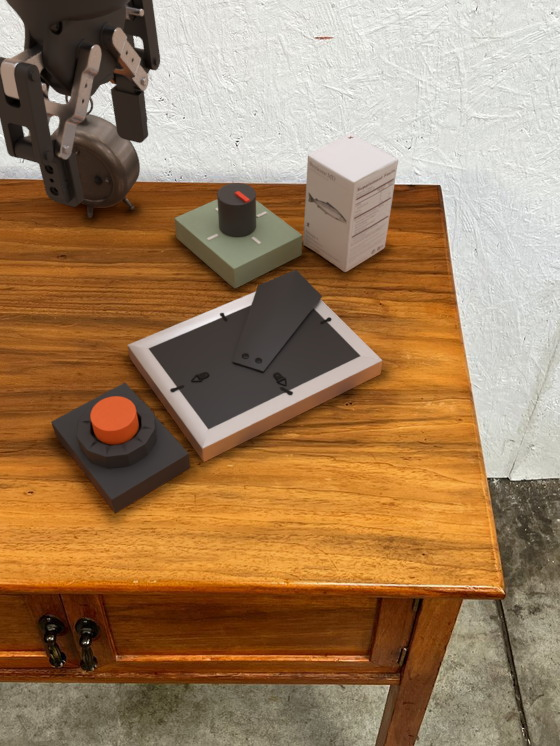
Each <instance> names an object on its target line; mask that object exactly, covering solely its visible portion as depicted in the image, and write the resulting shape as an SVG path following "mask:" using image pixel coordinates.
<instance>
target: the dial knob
mask: <svg viewBox="0 0 560 746" xmlns="http://www.w3.org/2000/svg"><path fill="white" fill-rule="evenodd" d="M216 196H217V199H216V200H218V218H219V229H220V230H221V232H222V233H224V234H225V235H228V236H231V237H243V236H247V235H249V234H251V233H252V232H253V231H254V230H255V229H256V200H257V193H256V190H255V189H254V187H252V186H251V185H249V184H247V183H243V182H231V183H227V184H225V185H223V186H221V187H220V188H219V189H218V191H217V193H216Z"/></svg>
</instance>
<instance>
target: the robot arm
mask: <svg viewBox="0 0 560 746" xmlns="http://www.w3.org/2000/svg"><path fill="white" fill-rule="evenodd" d="M5 1H6V2H7V4H8V5H9V6H10V8H11V9H12V10H13V11H14V12H15V13H16V14H17V16H18V17H19V18H20V20H21V22H22V23H23V28H24V44H23V51H21V52H20V53H17V54H16V55H14V56H12V57H11V58H10V57H3V56H0V125H1V129H2V134H3V138H4V143H5V147H6V151H7V155H8V156H10V157H13V158H17V159H21V160H26V161H29V162H32V163H35V164H38V166H39V170H40V174H41V177H42V178H41V179H42V183H43V186H44V191H45V194H46V196H47V197H48V199H51V200H52V201H54V202H55V203H58V204H61V205H65V206H68V207H72V208H76V207H78V206H79V205H80V204H82V203H81V202H82V201H83V199H84V196H83V191H82V187H81V182H80V177H79V172H78V167H77V162H76V157H75V153H72V148H73V143H74V138H75V133H76V128H77V125H78V124H79V123H81V122H83V121H84V120H85V118H86V114H87V112H88V109H89V103H90V100H89V99H90V97H91V98H92V97H93V96H94V95H95V94H96V92H97V91H98V89H99V88H100V87H101V86H103V85H106V84H108V83H109V82H110V84H113V85H114V86H113V87H111V88H110V94H111V95H110V96H111V102H112V108H113V115H114V121H115V126H116V128H117V133H118V135H119V136H120V137H121V138H123V139H126V140H130V141H131V142H134V143H137V144H141V143H143V142H144V141H145V140H146V139H147V138H148V137H149V128H148V127H149V126H148V113H147V108H146V107H147V105H146V97H145V91H146V90H147V88H148V86H149V81H150V80H149V79H150V78H149V75H148V74H149V72H150V71H158V69H159V68H160V65H161V54H160V47H159V46H160V45H159V40H158V39H159V38H158V32H157V31H158V30H157V24H156V16H155V9H154V2H153V1H154V0H5ZM134 37H137V38H140V39H141V41H142V46H143V48H141V47H136V45H135V39H134ZM50 88H51V89H52V90H54V91H55V92H56V93H57V94H59V95H63V96H65V95H66V96H68V97H69V99H68V103H66V102H65V103H59V102H56V101H52V100H50V98H49V91H50ZM52 117H58V120H59V121H58V126H57V128H58V131H57V136H52V134H51V130H50V120H51V118H52ZM24 128H26V129H27V130H28V134H27V136H25V133H24Z"/></svg>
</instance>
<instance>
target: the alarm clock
mask: <svg viewBox="0 0 560 746" xmlns="http://www.w3.org/2000/svg"><path fill="white" fill-rule="evenodd" d="M64 100H65V104H66V103H68V102H69V96H66V95H64ZM89 103H90V108H89V110H87V114H86V118H85V120H84V121H83V122H81V123H79V124H78V125H77V128H76V133H75V138H74V143H73V148H72V153H75V157H76V162H77V167H78V172H79V177H80V182H81V187H82V191H83V196H84V199H83V201H82V202H81V203H80V204H82V205H85V206H86V207H87V209H86V210H87V217H88V218H90V219H91V218H93V215H94V214H93V212H94V208H97V209H98V208H99V209H101V208H102V209H105V208H111V207H114V206H117V205H118V204H119V203H121V202H122V203H124V205H125V206H127V207H128V208H129V211H131V212H133V211H134V210H135V206H134V205H133V204H132V202H131V200H130V199H129V198H128V197H127V195H128V193H130V191H131V189H132V188H133V187H134V185H135V184H136V183H137V182H138V179H139V177H140V173H141V166H140V165H141V164H140V157H139V154H138V152H137V150H136V148H135V146H134V144H133V143H132V141H130V140H126V139H123V138H121V137H120V136H119V135H118V133H117V128H116V124H113V123H112V122H110V121H109V120H107V119H106V118H103V117H100V116H98V115H95V114H92V113H91V112H92V111H93V109H94V100H93V98H92V96H91V97H90V99H89ZM57 131H58V127H57V128H56V129H55V130H54V131H53V132H52V133H51V135H52V136H57Z"/></svg>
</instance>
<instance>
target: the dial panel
mask: <svg viewBox="0 0 560 746" xmlns="http://www.w3.org/2000/svg"><path fill="white" fill-rule="evenodd" d="M173 220H174V229H175V230H174V231H175V238H176V239H177V240H178V241H179V242H180V243H182V244H183V245H184V246H185V247H186V248H187V249H188V250H189V251H191V252H192V254H194V255H195V256H197V258H199V260H201V262H203V263H204V264H205V265H207V267H209V268H210V269H211V270H212V271H213V272H215V273H216V274H217V275H218V276H219V277H220V278H221V279H223V281H225V283H227V284H228V285H229V286H231V287H232V288H233V289H234V290H236V289H237V288H239V287H242V286H243V285H246V284H247V283H249V282H252V281H254V280H255V279H258V278H260V277H261V276H263V275H265V274H268V273H269V272H270V271H273V270H276V269H277V268H279V267H281V266H283V265H285V264H288V263H289V262H291V261H293V260H295V259H297V258H299V257H300V256H302V254H303V234H301V232H299V231H298V230H297V229H295V228H294V227H292V226H291V225H290V224H288V223H287V222H286V221H284V220H283V219H282V218H280V217H279V216H278V215H276V214H275V213H274V212H273V211H271V210H270V209H268V208H267V207H266V206H264V205H263V204H262V203H261V202H259V201H258V200H257V199H256V229H255V230H254V231H253V232H252V233H251V234H249V235H247V236H243V237H231V236H228V235H225V234H224V233H222V232H221V230H220V229H219V218H218V200H217V199H214V200H212V201H210V202H208V203H205V204H203V205H201V206H198V207H196V208H194V209H192V210H190V211H188V212H185V213H183V214H181V215H178V216H176V217H174V219H173Z"/></svg>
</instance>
